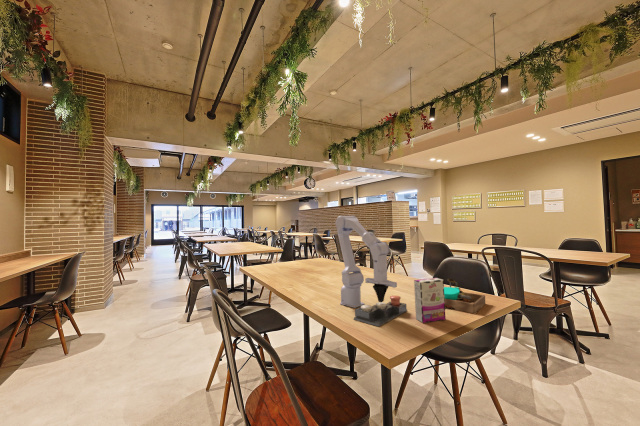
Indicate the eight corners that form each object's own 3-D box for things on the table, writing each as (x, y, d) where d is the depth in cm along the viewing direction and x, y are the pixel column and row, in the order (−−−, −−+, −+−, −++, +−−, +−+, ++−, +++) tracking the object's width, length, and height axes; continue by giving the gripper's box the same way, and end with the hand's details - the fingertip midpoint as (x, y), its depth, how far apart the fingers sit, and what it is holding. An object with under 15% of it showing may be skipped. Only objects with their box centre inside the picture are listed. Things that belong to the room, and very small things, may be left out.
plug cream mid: (374, 312, 118) (373, 304, 118) (379, 310, 121) (379, 301, 121) (383, 315, 115) (383, 306, 115) (388, 312, 118) (388, 303, 118)
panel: (352, 319, 114) (352, 310, 114) (382, 305, 131) (382, 297, 131) (380, 327, 105) (379, 317, 105) (408, 311, 122) (407, 303, 122)
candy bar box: (437, 316, 115) (436, 277, 116) (446, 320, 111) (444, 279, 111) (414, 319, 112) (413, 279, 113) (422, 323, 108) (421, 282, 108)
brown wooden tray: (424, 303, 132) (424, 295, 132) (438, 295, 145) (438, 288, 145) (475, 313, 117) (474, 304, 117) (485, 303, 130) (485, 295, 130)
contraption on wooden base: (478, 304, 130) (477, 272, 131) (460, 311, 119) (458, 277, 120) (449, 298, 142) (448, 268, 142) (430, 304, 131) (429, 272, 131)
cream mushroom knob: (359, 315, 115) (358, 306, 115) (365, 312, 118) (364, 304, 118) (368, 318, 112) (367, 309, 112) (374, 315, 115) (374, 306, 115)
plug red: (388, 305, 121) (387, 297, 121) (393, 303, 124) (392, 294, 124) (397, 307, 118) (397, 299, 118) (402, 305, 121) (402, 296, 121)
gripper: (361, 269, 121) (361, 300, 120) (390, 273, 111) (391, 307, 110) (369, 267, 126) (370, 296, 125) (398, 271, 116) (399, 303, 115)
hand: (381, 301), depth 118 cm, fingers closed
